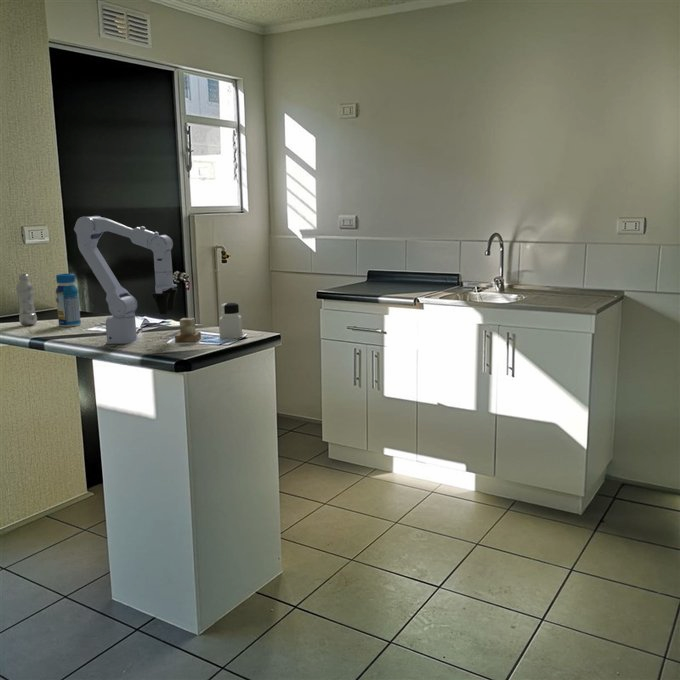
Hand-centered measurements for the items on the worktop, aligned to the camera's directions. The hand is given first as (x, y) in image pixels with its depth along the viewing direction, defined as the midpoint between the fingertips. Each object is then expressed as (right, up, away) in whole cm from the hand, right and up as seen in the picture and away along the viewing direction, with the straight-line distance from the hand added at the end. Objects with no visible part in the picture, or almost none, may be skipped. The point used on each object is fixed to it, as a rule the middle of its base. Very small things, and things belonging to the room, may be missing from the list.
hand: (166, 312), depth 242 cm
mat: (+6, -10, +2) cm, 12 cm away
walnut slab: (+7, -10, +2) cm, 12 cm away
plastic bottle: (-64, -4, +41) cm, 76 cm away
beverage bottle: (-47, -4, +39) cm, 62 cm away
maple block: (+7, -7, +1) cm, 10 cm away
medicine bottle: (+20, -9, +9) cm, 24 cm away
